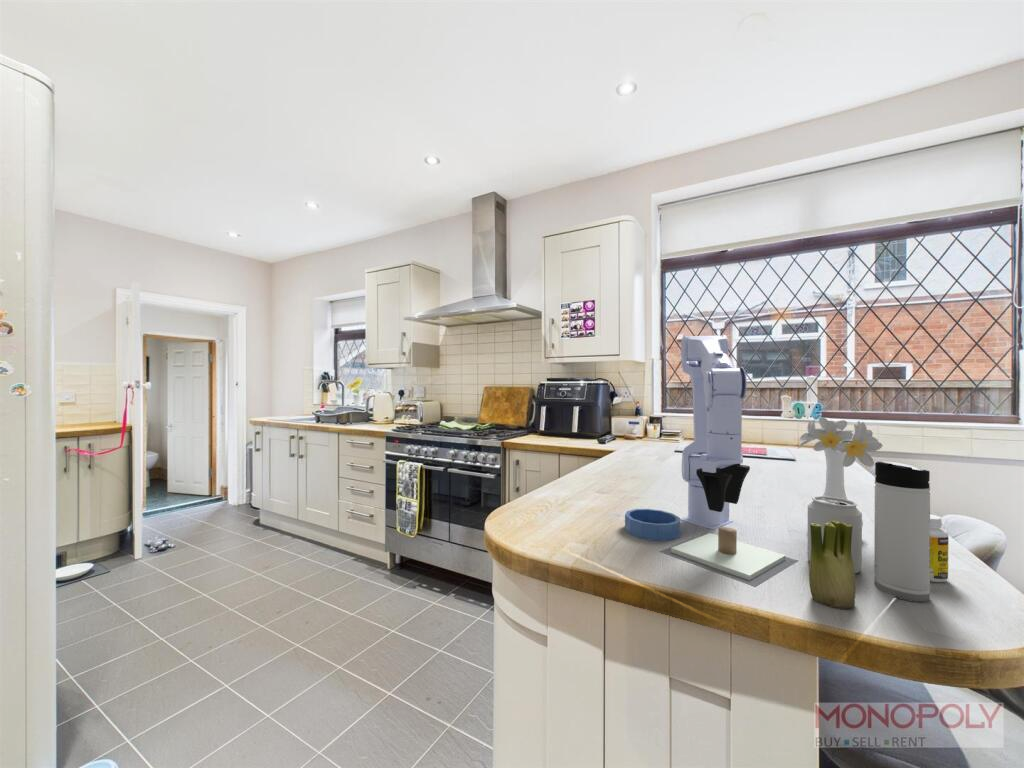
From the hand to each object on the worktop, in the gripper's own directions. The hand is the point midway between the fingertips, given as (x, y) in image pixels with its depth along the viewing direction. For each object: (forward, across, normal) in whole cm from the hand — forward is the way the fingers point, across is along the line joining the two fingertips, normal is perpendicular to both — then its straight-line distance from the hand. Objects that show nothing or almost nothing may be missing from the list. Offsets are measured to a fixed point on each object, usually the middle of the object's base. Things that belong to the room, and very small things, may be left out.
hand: (723, 506), depth 77 cm
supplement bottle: (+10, -17, +26) cm, 33 cm away
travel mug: (+10, -7, +24) cm, 26 cm away
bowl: (+10, -2, -15) cm, 18 cm away
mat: (+9, 0, +1) cm, 9 cm away
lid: (+9, 0, +1) cm, 9 cm away
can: (+10, -10, +15) cm, 20 cm away
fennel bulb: (+10, +6, +17) cm, 20 cm away
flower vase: (+10, -31, +12) cm, 35 cm away
